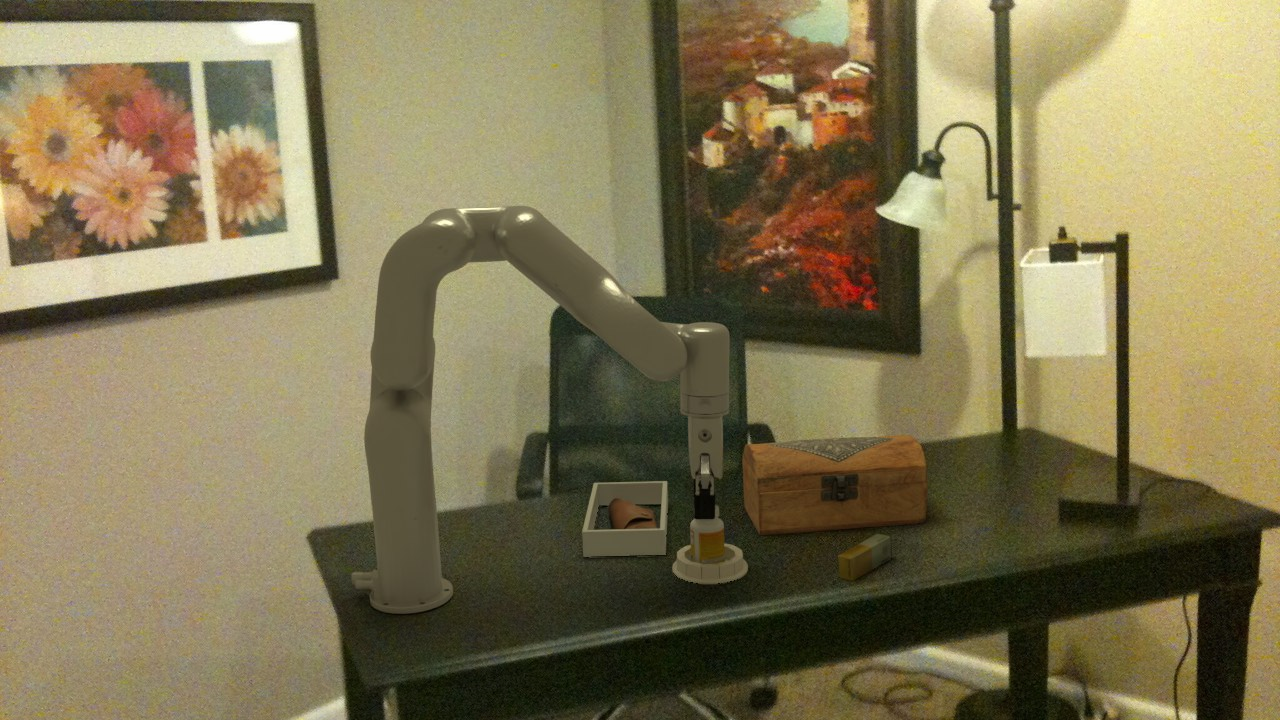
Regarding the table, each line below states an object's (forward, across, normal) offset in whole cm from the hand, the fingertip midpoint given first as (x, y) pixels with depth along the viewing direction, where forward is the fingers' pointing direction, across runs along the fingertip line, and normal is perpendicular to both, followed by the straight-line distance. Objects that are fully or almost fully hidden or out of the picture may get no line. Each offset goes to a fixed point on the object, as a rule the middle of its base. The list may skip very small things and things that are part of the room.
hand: (704, 508), depth 189 cm
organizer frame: (+11, +19, +13) cm, 25 cm away
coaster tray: (+10, 0, -1) cm, 10 cm away
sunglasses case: (+11, +19, +12) cm, 25 cm away
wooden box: (+10, +24, -23) cm, 35 cm away
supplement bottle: (+10, 0, -1) cm, 10 cm away
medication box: (+10, 0, -26) cm, 27 cm away
